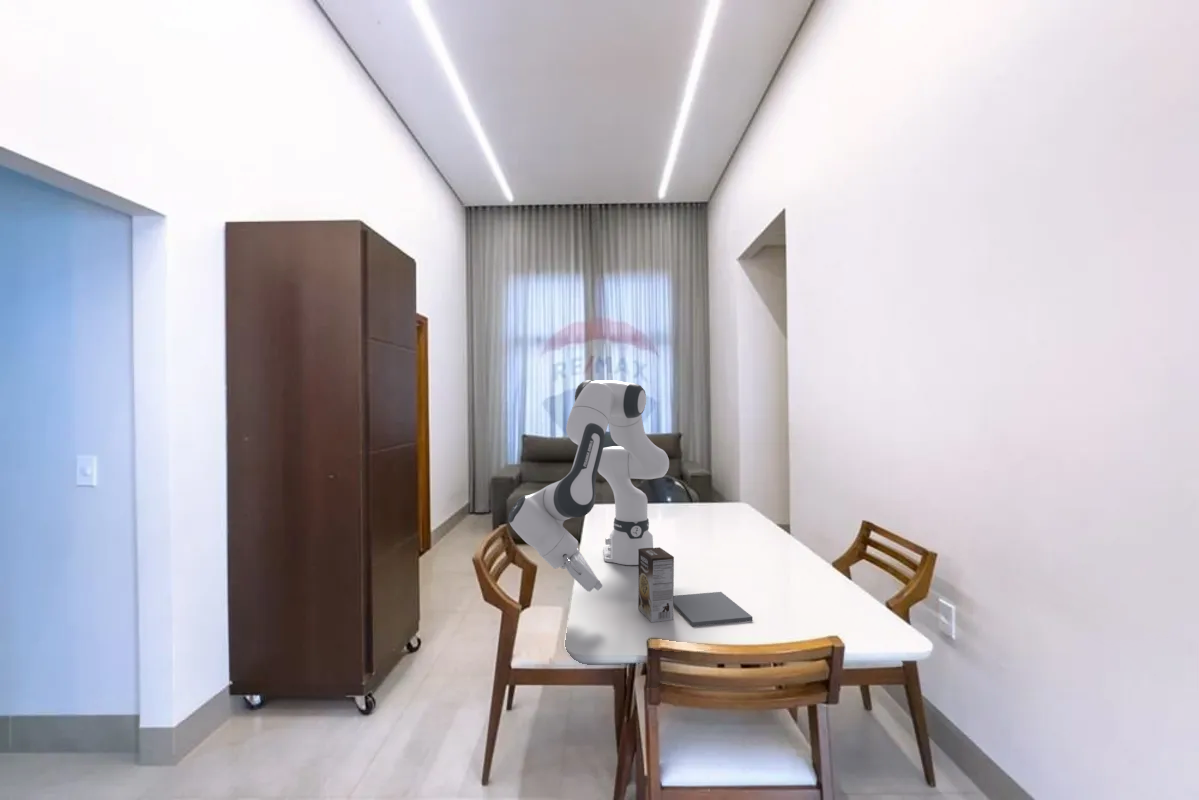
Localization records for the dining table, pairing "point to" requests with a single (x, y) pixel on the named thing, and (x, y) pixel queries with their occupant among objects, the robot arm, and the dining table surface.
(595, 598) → the dining table surface
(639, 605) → the coffee box
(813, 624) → the dining table surface
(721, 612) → the mat
